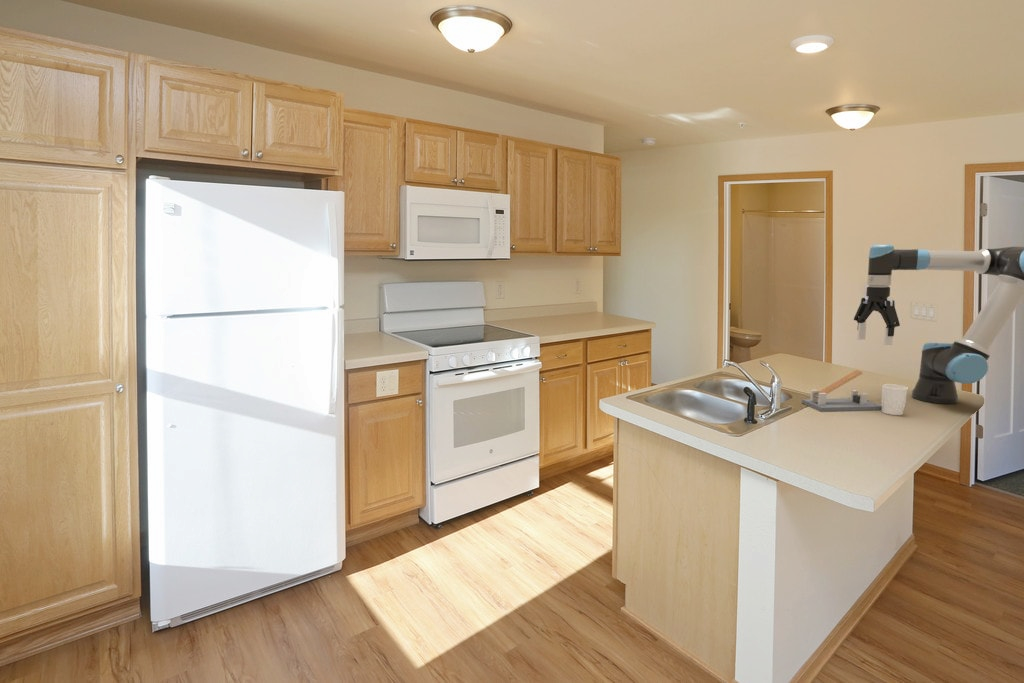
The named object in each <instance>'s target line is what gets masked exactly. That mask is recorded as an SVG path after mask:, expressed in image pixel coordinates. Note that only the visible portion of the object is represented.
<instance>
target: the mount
mask: <svg viewBox="0 0 1024 683" xmlns="http://www.w3.org/2000/svg"><path fill="white" fill-rule="evenodd" d="M819 391H820V390H819V389H811V390H810V397H809V398H802V399H801V404H803V403H804V404H803V405H805V406H807V405H808V406H807V407H810V408H812V409H813V410H814V409H815V410H817V411H819V412H821V413H823V412H860V411H861V412H862V411H868V412H869V411H881V409H882V404H879V403H877V402H873V401H871V400H869V399H868V394H867V393H860V394H859V390H856V389H854V390H853V389H852V390H851V391H850V392H851V394H850V397H849V398H848V397H847V398H845V397H844V398H843V397H842V398H841V397H840V398H827V395H828V394H827V393H819V398H816V397H814V394H815V393H818V392H819Z"/></svg>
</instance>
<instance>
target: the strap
mask: <svg viewBox="0 0 1024 683" xmlns="http://www.w3.org/2000/svg"><path fill="white" fill-rule="evenodd" d="M861 375H863V372H862V371H860V370H858V369H857V370H856V369H855V370H854V371H851V372H850V373H849V374H847V375H845V376H844V377H842V378H840V379H838V380H837V381H835V382H833V383H831V384H830V385H828V386H827V387H825V388H823V389H821V390H819V392H818V393H815V394H814V397H816V398H819V393H827V395H828V394H830V393H831V392H833V391H835V390H837V389H839V388H840V387H842V386H844V385H845V384H847V383H849V382H850V381H852V380H853V379H855V378H857V377H859V376H861Z"/></svg>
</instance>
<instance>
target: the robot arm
mask: <svg viewBox="0 0 1024 683" xmlns="http://www.w3.org/2000/svg"><path fill="white" fill-rule="evenodd" d="M920 270H921V271H923V270H925V271H930V270H931V271H958V272H959V271H960V272H961V271H962V272H975V273H976V274H978V275H990V276H995V277H998V279H999V280H998V281H999V282H998V284H997V285H996V287H995V288H994V290H993V291H992V293H991V295H990V296H989V297H988V299H987V300H986V302H985V304H984V305H983V307H982V309H980V311H979V312H978V314H977V316H976V317H975V318H974V320H973V322H972V323H971V325H970V326H969V328H968V329H967V330H966V332H965V334H964V335H963V337H962V338H961V339H958V340H954V342H952V343H950V342H949V343H948V342H946V343H945V342H926V343H924V344H923V345H922V346H923V347H922V350H921V360H920V367H919V376H918V380H917V382H916V383H915V386H914V388H912V391H911V397H912V398H913V399H915V400H918V401H923V402H928V403H935V404H942V405H943V404H945V405H949V404H950V405H951V404H957V403H959V395H958V393H957V385H956V383H959V384H966V385H967V384H968V385H969V384H970V385H971V384H974V383H976V382H979V381H981V380H982V379H983V378H984V377H985V376H986V375H987V373H988V371H989V366H988V360H989V358H990V356H991V354H990V352H989V349H990V347H991V346H992V345H993V343H994V342H995V340H996V339H997V337H998V336H999V334H1000V333H1001V331H1002V330H1003V328H1004V327H1005V326H1006V324H1007V322H1008V321H1009V319H1010V318H1011V317H1012V315H1013V314H1014V312H1015V311H1016V309H1017V308H1018V306H1019V304H1020V303H1021V302H1022V301H1023V299H1024V246H1008V247H1007V246H1006V247H998V248H980V249H979V250H978V251H977V250H970V251H969V250H937V249H936V250H933V249H930V250H929V249H922V248H921V249H919V248H917V249H916V248H915V249H895V247H894V245H893V244H873V245H871V246H870V249H869V254H868V270H867V281H866V283H867V284H866V285H867V287H866V294H865V295H866V297H861V299H860V304H859V306H858V308H857V311H856V312H855V315H854V317H853V321H855V322H856V323H857V329H856V330H857V340H861V341H862V340H866V332H867V330H866V329H867V319H868V318H869V317H870V315H871V314H872V313H873V312H878V313H879V314H880V316H881V317H882V319H883V321H884V323H885V325H886V326H885V328H884V341H883V345H884V346H892V345H893V339H894V335H895V328H897V327H900V325H901V324H900V321H899V317H898V314H897V310H896V305H895V300H893V299H892V300H891V299H890V300H888V298H889V297H890V296H891V287H890V286H891V285H892V272H893V271H920Z"/></svg>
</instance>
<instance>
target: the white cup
mask: <svg viewBox="0 0 1024 683" xmlns="http://www.w3.org/2000/svg"><path fill="white" fill-rule="evenodd" d="M881 389H882V390H881V405H882V409H881V410H880V411H881V413H884V414H886V415H891V416H903V415H904V411H905V405H906V403H907V397H908V391H909V387H908V386H905V385H900V384H894V383H885V384H882V388H881Z"/></svg>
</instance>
